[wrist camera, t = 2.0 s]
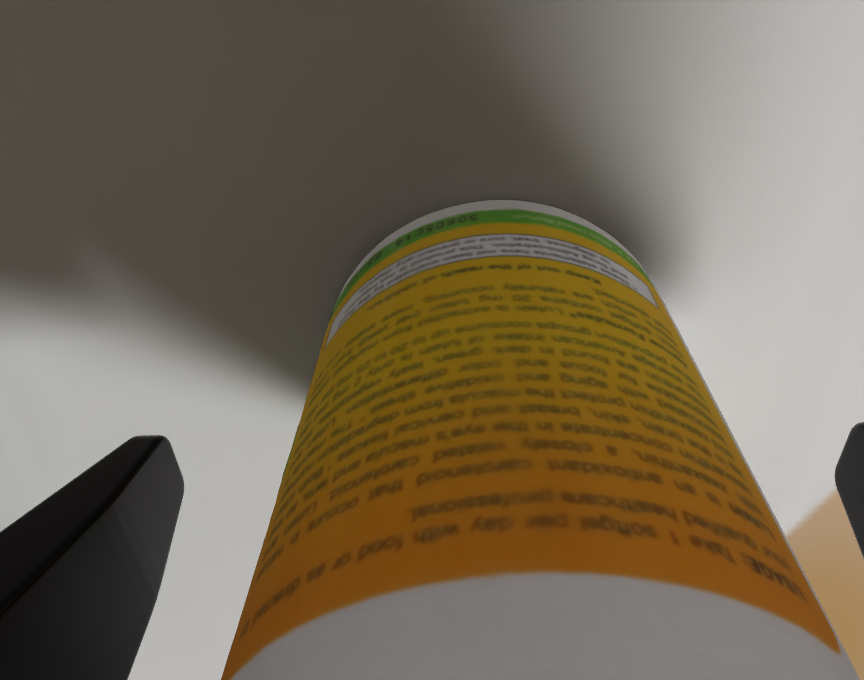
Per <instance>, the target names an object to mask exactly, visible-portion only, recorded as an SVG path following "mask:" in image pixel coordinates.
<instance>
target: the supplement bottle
mask: <svg viewBox="0 0 864 680" xmlns="http://www.w3.org/2000/svg"><path fill="white" fill-rule="evenodd" d="M221 680H860V679H859V677H858V675H857V673H856V671H855V669H854V667H853V665H852V663H851V661H850V659H849V657H848V655H847V653H846V651H845V649H844V648H843V645H842V644H841V642H840V640H839V638H838V636H837V634H836V632H835V630H834V629H833V626H832V625H831V623H830V621H829V619H828V617H827V615H826V613H825V611H824V609H823V607H822V606H821V604H820V602H819V600H818V598H817V596H816V594H815V592H814V590H813V588H812V586H811V585H810V583H809V581H808V579H807V577H806V575H805V573H804V571H803V569H802V567H801V566H800V564H799V562H798V560H797V558H796V556H795V554H794V552H793V550H792V548H791V546H790V544H789V542H788V541H787V539H786V537H785V535H784V533H783V531H782V529H781V527H780V525H779V523H778V521H777V519H776V517H775V515H774V514H773V512H772V510H771V508H770V506H769V504H768V502H767V500H766V498H765V496H764V494H763V492H762V490H761V489H760V487H759V485H758V483H757V481H756V479H755V477H754V475H753V473H752V471H751V469H750V467H749V465H748V463H747V462H746V460H745V458H744V456H743V454H742V452H741V450H740V448H739V446H738V444H737V442H736V440H735V438H734V436H733V435H732V433H731V431H730V429H729V427H728V425H727V423H726V421H725V419H724V417H723V415H722V413H721V411H720V409H719V408H718V406H717V404H716V402H715V400H714V398H713V396H712V394H711V392H710V390H709V388H708V386H707V384H706V382H705V381H704V379H703V377H702V375H701V373H700V371H699V369H698V367H697V365H696V363H695V361H694V359H693V357H692V355H691V354H690V352H689V350H688V348H687V346H686V344H685V342H684V340H683V338H682V336H681V334H680V332H679V330H678V328H677V326H676V325H675V323H674V321H673V319H672V317H671V315H670V314H669V312H668V310H667V308H666V306H665V304H664V302H663V300H662V298H661V296H660V295H659V293H658V291H657V289H656V288H655V286H654V284H653V283H652V281H651V279H650V278H649V276H648V274H647V273H646V271H645V269H644V268H643V267H642V266H641V264H640V263H639V262H638V261H637V259H636V258H635V257H634V256H633V255H632V254H631V253H630V252H629V251H628V250H627V249H626V248H625V247H624V246H623V245H622V244H620V243H619V242H618V241H617V240H616V239H615V238H613V237H612V236H611V235H609V234H608V233H607V232H605V231H604V230H602V229H600V228H599V227H597V226H595V225H594V224H592V223H590V222H589V221H587V220H585V219H583V218H581V217H579V216H576V215H574V214H571V213H569V212H566V211H564V210H561V209H558V208H555V207H551V206H547V205H543V204H538V203H533V202H526V201H518V200H486V201H478V202H472V203H465V204H461V205H456V206H452V207H448V208H445V209H442V210H439V211H436V212H433V213H430V214H427V215H425V216H423V217H420V218H418V219H416V220H414V221H412V222H410V223H409V224H407V225H405V226H403V227H402V228H400V229H398V230H396V231H395V232H393V233H392V234H390V235H389V236H388V237H386V238H385V239H384V240H383V241H382V242H380V243H379V244H378V245H377V246H376V247H375V248H374V249H373V250H372V251H371V252H370V253H369V254H367V255H366V256H365V257H364V259H363V260H362V261H361V262H360V264H359V265H358V266H357V268H356V269H355V270H354V272H353V273H352V274H351V276H350V277H349V278H348V280H347V281H346V283H345V285H344V287H343V288H342V290H341V292H340V295H339V297H338V299H337V301H336V304H335V306H334V309H333V312H332V315H331V318H330V320H329V323H328V327H327V330H326V333H325V336H324V340H323V343H322V346H321V350H320V354H319V357H318V361H317V364H316V368H315V371H314V375H313V378H312V381H311V385H310V388H309V391H308V395H307V398H306V402H305V405H304V409H303V413H302V417H301V420H300V423H299V425H298V428H297V432H296V435H295V438H294V442H293V445H292V449H291V452H290V455H289V458H288V461H287V464H286V467H285V470H284V473H283V477H282V482H281V485H280V488H279V491H278V495H277V500H276V504H275V507H274V510H273V513H272V516H271V520H270V524H269V527H268V530H267V533H266V537H265V540H264V542H263V546H262V549H261V553H260V556H259V559H258V562H257V565H256V569H255V572H254V575H253V578H252V582H251V585H250V588H249V592H248V595H247V598H246V601H245V605H244V608H243V611H242V614H241V618H240V621H239V624H238V627H237V631H236V634H235V637H234V640H233V643H232V646H231V649H230V652H229V655H228V659H227V662H226V665H225V669H224V672H223V675H222V679H221Z"/></svg>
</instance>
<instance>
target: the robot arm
mask: <svg viewBox="0 0 864 680" xmlns="http://www.w3.org/2000/svg"><path fill="white" fill-rule="evenodd" d="M835 482H836V487H837V490H838V492H839V495H840V498H841V500H842V503H843V505H844V508H845V511H846V513H847V516H848V518H849V521H850V524H851V526H852V528H853V532H854V534H855V537H856V539H857V542H858V544H859V547H860V550H861V552H862V555H863V557H864V422H861V423H858V424H856V425H855V426H854V427H853V428H852V429H851V431H850V434H849V436H848V439H847V441H846V443H845V446H844V448H843V451H842V453H841V456H840V458H839V461H838V463H837V466H836V469H835ZM183 494H184V481H183V477H182V474H181V471H180V468H179V466H178V463H177V460H176V457H175V455H174V452H173V449H172V446H171V444H170V442H169V440H168V439H167V438H166V437H164V436H161V435H149V436H135V437H132V438H131V439H129V440H128V441H126V442H125V443H124V444H122V445H121V446H119V447H118V448H117V449H115V450H114V451H112V452H111V453H110V454H108V455H107V456H105V457H104V458H103V459H101V460H100V461H98V462H97V463H96V464H94V465H93V466H92V467H90V468H89V469H87V470H86V471H85V472H83V473H82V474H80V475H79V476H78V477H76V478H75V479H73V480H72V481H71V482H69V483H68V484H66V485H65V486H64V487H62V488H61V489H60V490H58V491H57V492H55V493H54V494H53V495H51V496H50V497H48V498H47V499H46V500H44V501H43V502H41V503H40V504H39V505H37V506H36V507H34V508H33V509H32V510H30V511H29V512H27V513H26V514H25V515H23V516H22V517H21V518H19V519H18V520H16V521H15V522H14V523H12V524H11V525H9V526H8V527H7V528H5V529H4V530H2V531H1V532H0V680H127V679H128V676H129V674H130V671H131V668H132V666H133V663H134V660H135V658H136V655H137V652H138V650H139V647H140V644H141V641H142V639H143V636H144V633H145V631H146V628H147V625H148V623H149V620H150V617H151V614H152V611H153V609H154V606H155V603H156V600H157V596H158V593H159V589H160V586H161V582H162V578H163V574H164V570H165V566H166V562H167V558H168V554H169V550H170V546H171V542H172V538H173V534H174V531H175V527H176V523H177V519H178V515H179V511H180V507H181V503H182V499H183Z"/></svg>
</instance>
